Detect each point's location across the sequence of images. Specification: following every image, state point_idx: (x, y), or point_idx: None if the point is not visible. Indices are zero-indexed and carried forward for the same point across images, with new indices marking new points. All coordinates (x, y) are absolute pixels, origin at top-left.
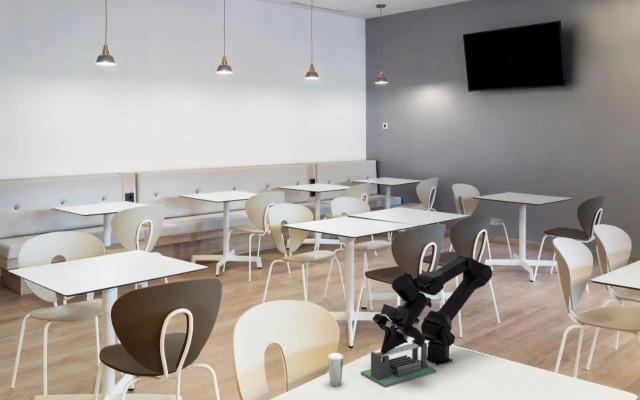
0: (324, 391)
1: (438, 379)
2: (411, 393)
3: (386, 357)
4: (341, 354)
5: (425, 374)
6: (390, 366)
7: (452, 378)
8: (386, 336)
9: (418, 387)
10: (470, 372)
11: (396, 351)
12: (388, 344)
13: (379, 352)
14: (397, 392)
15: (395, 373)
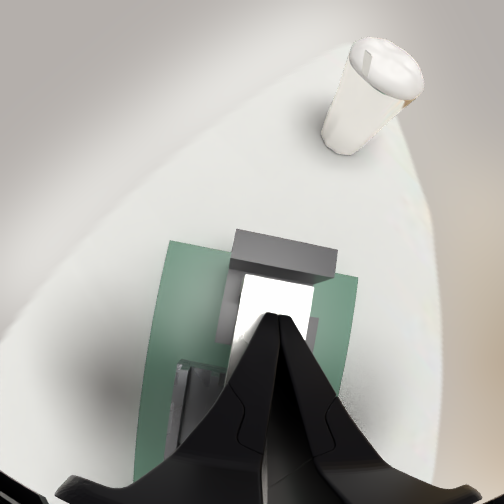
0: (316, 81)
1: (79, 462)
2: (61, 277)
3: (219, 316)
4: (388, 77)
5: (135, 472)
6: None
7: None
8: (328, 438)
9: (73, 348)
10: None
11: None
12: (235, 372)
13: (300, 316)
14: (104, 243)
15: (199, 365)
